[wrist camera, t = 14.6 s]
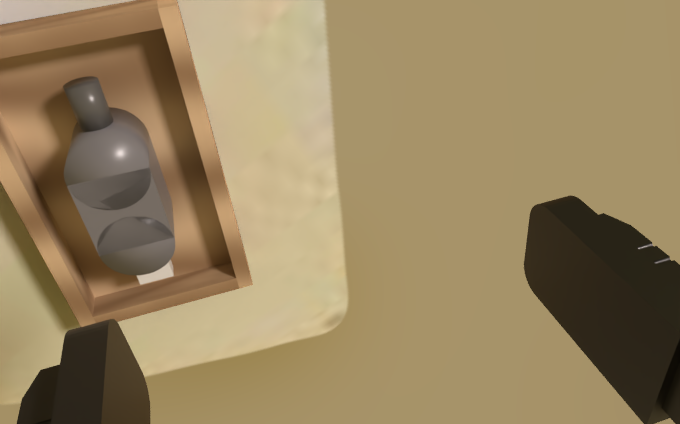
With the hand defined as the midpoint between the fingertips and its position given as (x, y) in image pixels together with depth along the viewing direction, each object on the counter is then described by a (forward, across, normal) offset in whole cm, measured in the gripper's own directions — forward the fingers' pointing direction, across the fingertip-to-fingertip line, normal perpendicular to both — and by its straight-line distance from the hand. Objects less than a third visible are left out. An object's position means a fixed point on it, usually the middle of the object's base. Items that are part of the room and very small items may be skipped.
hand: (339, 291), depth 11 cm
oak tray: (+26, +8, +10) cm, 29 cm away
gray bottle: (+26, +8, +10) cm, 29 cm away
